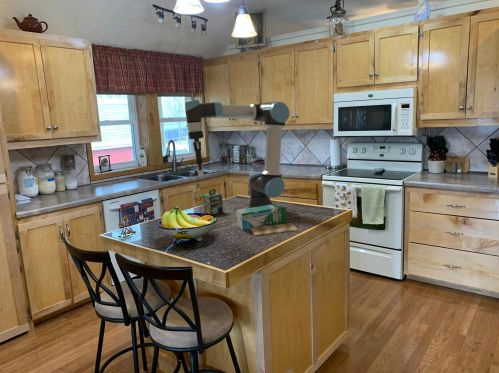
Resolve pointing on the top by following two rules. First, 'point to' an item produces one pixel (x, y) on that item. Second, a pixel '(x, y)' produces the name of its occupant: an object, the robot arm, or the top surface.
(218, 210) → the chalk box
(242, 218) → the milk carton
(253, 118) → the robot arm
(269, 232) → the cork mat
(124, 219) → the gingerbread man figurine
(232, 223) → the top surface
